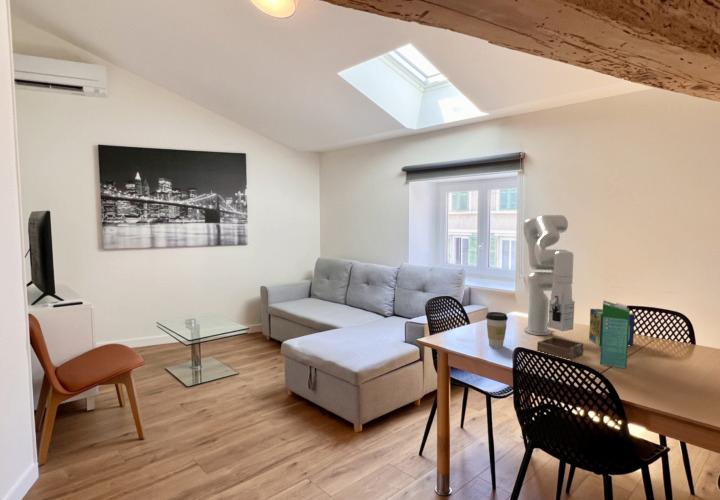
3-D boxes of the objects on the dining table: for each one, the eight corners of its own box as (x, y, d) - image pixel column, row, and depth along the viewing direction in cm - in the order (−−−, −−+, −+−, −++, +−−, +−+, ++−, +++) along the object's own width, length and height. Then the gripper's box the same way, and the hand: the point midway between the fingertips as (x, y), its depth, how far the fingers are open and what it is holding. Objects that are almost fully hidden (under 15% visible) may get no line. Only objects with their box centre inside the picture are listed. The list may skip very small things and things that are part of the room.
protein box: (588, 339, 200) (589, 308, 199) (621, 340, 199) (622, 309, 198) (599, 346, 190) (600, 313, 189) (633, 347, 188) (635, 314, 187)
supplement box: (547, 327, 179) (548, 299, 178) (558, 325, 183) (560, 297, 182) (562, 331, 173) (563, 302, 172) (573, 329, 176) (575, 300, 175)
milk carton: (626, 368, 161) (629, 306, 159) (600, 364, 166) (602, 303, 164) (626, 361, 169) (629, 302, 167) (600, 357, 173) (603, 300, 172)
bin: (552, 347, 188) (552, 336, 188) (582, 354, 177) (583, 343, 177) (537, 352, 180) (537, 341, 179) (568, 361, 169) (568, 349, 169)
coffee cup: (508, 349, 184) (509, 317, 183) (486, 348, 186) (486, 315, 185) (505, 343, 194) (506, 312, 193) (483, 341, 196) (484, 311, 195)
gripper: (563, 277, 184) (562, 315, 186) (544, 280, 174) (542, 320, 175) (581, 279, 178) (579, 318, 180) (561, 282, 168) (560, 324, 169)
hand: (561, 319), depth 177 cm, fingers closed on supplement box, 8 cm apart
